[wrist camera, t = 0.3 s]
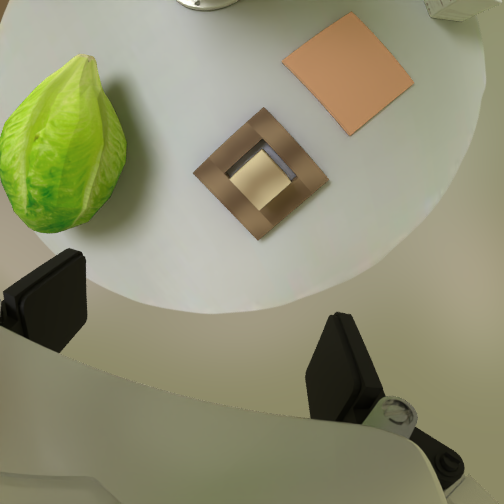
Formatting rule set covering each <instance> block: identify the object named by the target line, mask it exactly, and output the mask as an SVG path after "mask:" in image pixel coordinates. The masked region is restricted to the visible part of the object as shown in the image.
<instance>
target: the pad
mask: <svg viewBox="0 0 504 504" xmlns="http://www.w3.org/2000/svg"><path fill="white" fill-rule="evenodd" d="M282 63H283V64H284V65H285V66H286V67H287V68H288V69H289V70H290V71H291V72H292V73H293V74H294V75H295V76H296V77H297V78H298V79H299V80H300V81H301V82H302V83H303V84H304V85H305V87H306V88H307V89H308V90H309V91H310V92H311V93H312V94H313V95H314V96H315V97H316V98H317V99H318V101H319V102H320V103H321V104H322V105H323V106H324V107H325V108H326V109H327V111H328V112H329V113H330V114H331V115H332V116H333V118H334V119H335V120H336V121H337V122H338V123H339V125H340V126H341V127H342V128H343V129H344V131H345V132H346V133H347V134H348V135H349V136H350V135H352V134H353V133H354V132H355V131H356V130H358V129H359V128H360V127H361V126H362V125H364V124H365V123H366V122H367V121H368V120H370V119H371V118H372V117H373V116H374V115H376V114H377V113H378V112H379V111H380V110H382V109H383V108H384V107H385V106H387V105H388V104H389V103H390V102H391V101H393V100H394V99H395V98H396V97H398V96H399V95H400V94H401V93H403V92H404V91H405V90H406V89H407V88H409V87H410V86H411V85H412V84H414V82H413V80H412V79H411V78H410V76H409V75H408V74H407V73H406V71H405V70H404V69H403V67H402V66H401V65H400V64H399V62H398V61H397V60H396V59H395V58H394V56H393V55H392V54H391V53H390V52H389V51H388V49H387V48H386V47H385V46H384V45H383V44H382V43H381V41H380V40H379V39H378V38H377V37H376V36H375V35H374V34H373V33H372V32H371V31H370V30H369V28H368V27H367V26H366V25H365V24H364V23H363V22H362V21H361V20H360V19H359V18H358V17H357V16H356V15H355V14H354V13H353V12H352V11H351V12H350V13H348V14H347V15H345V16H344V17H342V18H341V19H339V20H338V21H336V22H335V23H333V24H332V25H330V26H329V27H327V28H326V29H324V30H323V31H321V32H320V33H319V34H317V35H316V36H314V37H313V38H312V39H310V40H309V41H307V42H306V43H305V44H303V45H302V46H301V47H299V48H298V49H297V50H295V51H294V52H293V53H291V54H290V55H289V56H288V57H286V58H285V59H284V60H282Z"/></svg>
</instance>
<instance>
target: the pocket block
mask: <svg viewBox="0 0 504 504" xmlns="http://www.w3.org/2000/svg"><path fill="white" fill-rule="evenodd" d="M261 139H264V140H265V141H266V142H267V143H268V144H269V146H270V147H271V148H272V149H273V150H274V151H275V152H276V153H277V154H278V155H279V156H280V157H281V159H282V160H283V161H284V162H285V163H286V164H287V165H288V166H289V167H290V169H291V170H292V171H293V172H294V173H295V174H296V175H297V176H296V177H294V178H293V179H292V180H291V183H290V184H289V185H288V186H287V187H286V188H285V189H283V190H282V191H281V192H280V193H279V194H278V195H277V196H275V197H274V198H273V199H272V200H271V201H270V202H269V203H267V204H266V205H265V206H264V207H263V208H262V209H261V210H258V209H257V208H256V207H255V206H254V205H253V204H252V203H251V202H250V201H249V200H248V199H247V197H246V196H245V195H244V194H243V193H242V192H241V191H240V190H239V189H238V188H237V187H236V186H235V185H234V184H233V183H232V182H231V181H230V180H229V179H230V178H231V177H230V176H229V175H228V174H227V173H226V171H227V170H228V169H229V168H231V167H232V166H233V165H234V164H235V163H236V162H237V161H238V160H239V159H240V158H241V157H242V156H244V155H245V154H246V153H247V152H248V151H249V150H250V149H251V148H252V147H254V146H255V145H256V144H257V143H258V142H259V141H260V140H261ZM193 174H194V175H195V176H196V177H197V178H198V179H199V180H200V181H201V182H202V183H203V184H204V185H205V186H206V187H207V188H208V189H209V190H210V191H211V192H212V193H213V194H214V195H215V197H216V198H217V199H218V200H219V201H220V202H221V203H222V204H223V205H224V206H225V207H226V208H227V209H228V210H229V211H230V212H231V213H232V214H233V215H234V216H235V217H236V218H237V219H238V220H239V221H240V222H241V224H242V225H243V226H244V227H245V228H246V229H247V230H248V231H249V232H250V233H251V234H252V235H253V236H254V237H255V238H256V239H257V240H259V239H260V238H262V237H263V236H264V235H265V234H266V233H267V232H269V231H270V230H271V229H272V228H273V227H274V226H276V225H277V224H278V223H279V222H280V221H281V220H283V219H284V218H285V217H286V216H287V215H288V214H290V213H291V212H292V211H293V210H294V209H295V208H297V207H298V206H299V205H300V204H301V203H302V202H304V201H305V200H306V199H307V198H308V197H310V196H311V195H312V194H313V193H314V192H315V191H317V190H318V189H319V188H320V187H321V186H322V185H324V184H325V183H326V182H327V181H328V180H329V179H328V178H327V176H326V175H325V174H324V173H323V172H322V170H321V169H320V168H319V167H318V166H317V165H316V163H315V162H314V161H313V160H312V159H311V158H310V156H309V155H308V154H307V153H306V152H305V151H304V150H303V149H302V147H301V146H300V145H299V144H298V143H297V142H296V141H295V140H294V138H293V137H292V136H291V135H290V134H289V133H288V132H287V131H286V130H285V129H284V128H283V126H282V125H281V124H280V123H279V122H278V121H277V120H276V119H275V118H274V117H273V116H272V115H271V114H270V113H269V112H268V111H267V110H266V109H265V108H264V107H263V108H262V109H261V110H260V111H259V112H258V113H256V114H255V115H254V116H253V117H252V118H251V119H250V120H249V121H247V122H246V123H245V124H244V125H243V126H242V127H241V128H240V129H239V130H237V131H236V132H235V133H234V134H233V135H232V136H231V137H230V138H229V139H228V140H227V141H225V142H224V143H223V144H222V145H221V146H220V147H219V148H218V149H217V150H216V151H215V152H214V153H213V154H212V155H211V156H210V157H209V158H208V159H207V160H206V161H205V162H203V163H202V164H201V165H200V166H199V167H198V168H197V169H196V170H195V171H194V172H193Z"/></svg>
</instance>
